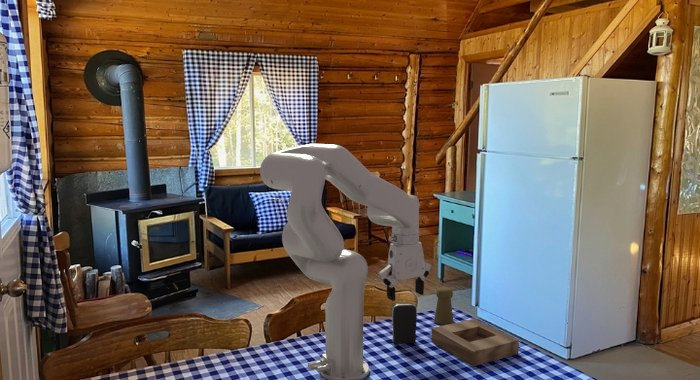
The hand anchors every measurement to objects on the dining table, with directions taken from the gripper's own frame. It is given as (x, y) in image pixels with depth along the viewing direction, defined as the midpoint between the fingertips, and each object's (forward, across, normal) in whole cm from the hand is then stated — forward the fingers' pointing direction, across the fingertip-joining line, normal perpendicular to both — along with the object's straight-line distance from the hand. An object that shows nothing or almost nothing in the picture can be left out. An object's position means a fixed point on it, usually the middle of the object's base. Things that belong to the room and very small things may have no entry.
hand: (405, 296), depth 155 cm
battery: (+13, -1, 0) cm, 13 cm away
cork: (+14, +19, +7) cm, 25 cm away
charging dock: (+14, +14, -13) cm, 24 cm away
